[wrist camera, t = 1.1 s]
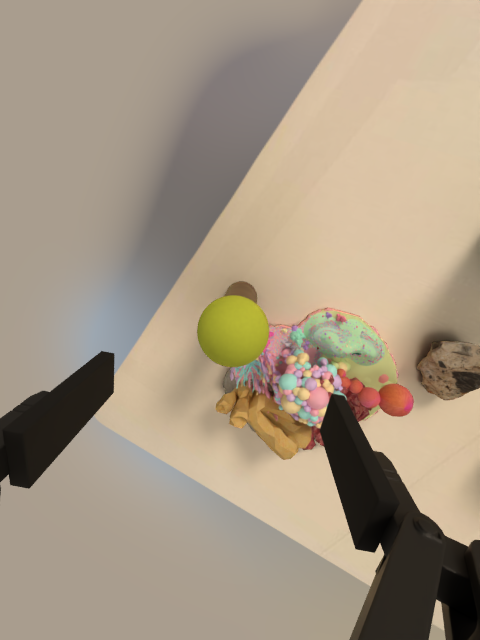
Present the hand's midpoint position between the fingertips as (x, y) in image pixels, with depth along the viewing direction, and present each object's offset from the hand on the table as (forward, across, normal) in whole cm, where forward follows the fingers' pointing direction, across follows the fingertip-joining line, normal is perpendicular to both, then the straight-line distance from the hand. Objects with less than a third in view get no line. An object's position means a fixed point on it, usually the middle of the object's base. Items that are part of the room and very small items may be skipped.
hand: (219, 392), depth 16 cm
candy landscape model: (+24, +12, -11) cm, 29 cm away
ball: (+10, 0, 0) cm, 10 cm away
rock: (+24, +30, -4) cm, 38 cm away
